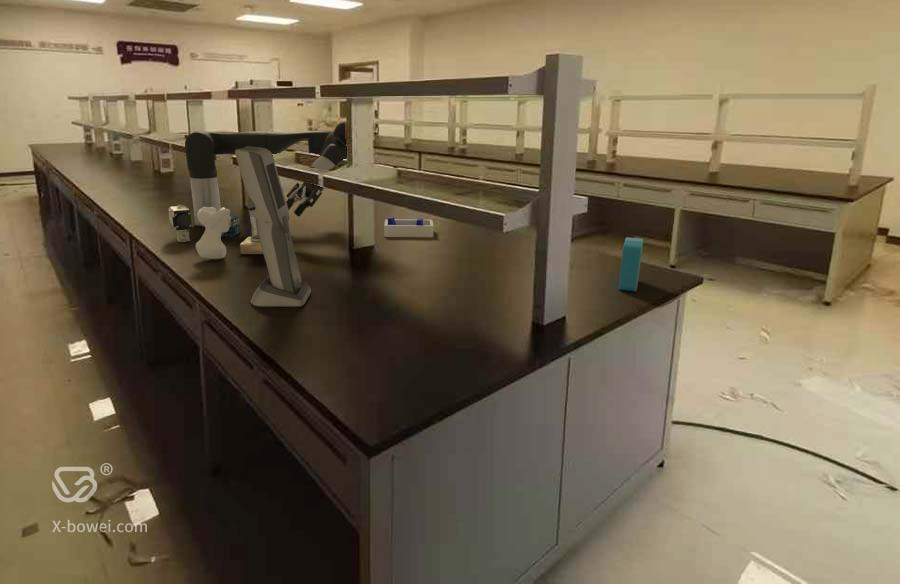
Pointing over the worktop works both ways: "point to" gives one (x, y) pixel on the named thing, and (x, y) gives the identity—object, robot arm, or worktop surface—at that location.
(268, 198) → the thermal camera
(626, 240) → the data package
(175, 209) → the pneumatic valve
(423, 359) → the worktop surface
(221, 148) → the robot arm
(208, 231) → the white lobed block
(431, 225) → the clip tray
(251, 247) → the stand
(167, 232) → the worktop surface
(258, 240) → the housing
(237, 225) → the puzzle
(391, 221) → the cable clip
